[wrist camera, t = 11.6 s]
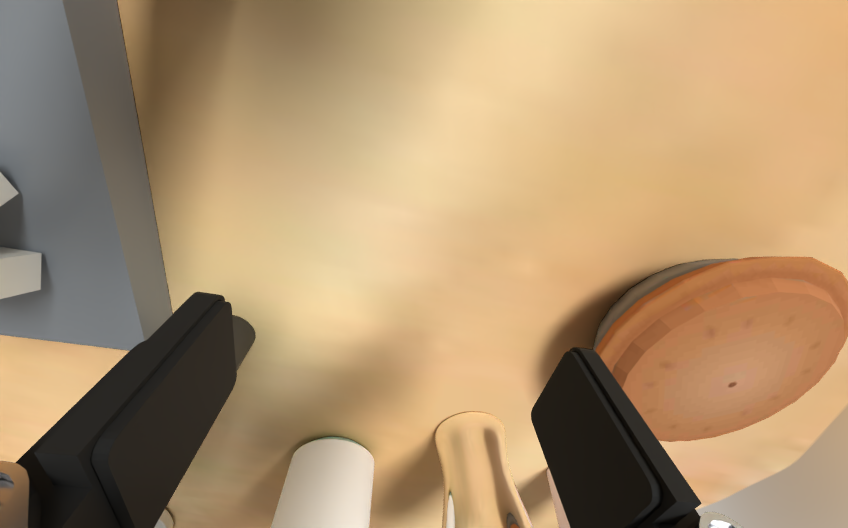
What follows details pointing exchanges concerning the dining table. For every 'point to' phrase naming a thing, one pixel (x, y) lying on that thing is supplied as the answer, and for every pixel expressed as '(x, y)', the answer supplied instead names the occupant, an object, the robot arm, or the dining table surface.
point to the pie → (724, 341)
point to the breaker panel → (76, 178)
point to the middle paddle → (6, 190)
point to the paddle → (19, 272)
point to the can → (327, 486)
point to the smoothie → (557, 503)
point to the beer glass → (478, 474)
